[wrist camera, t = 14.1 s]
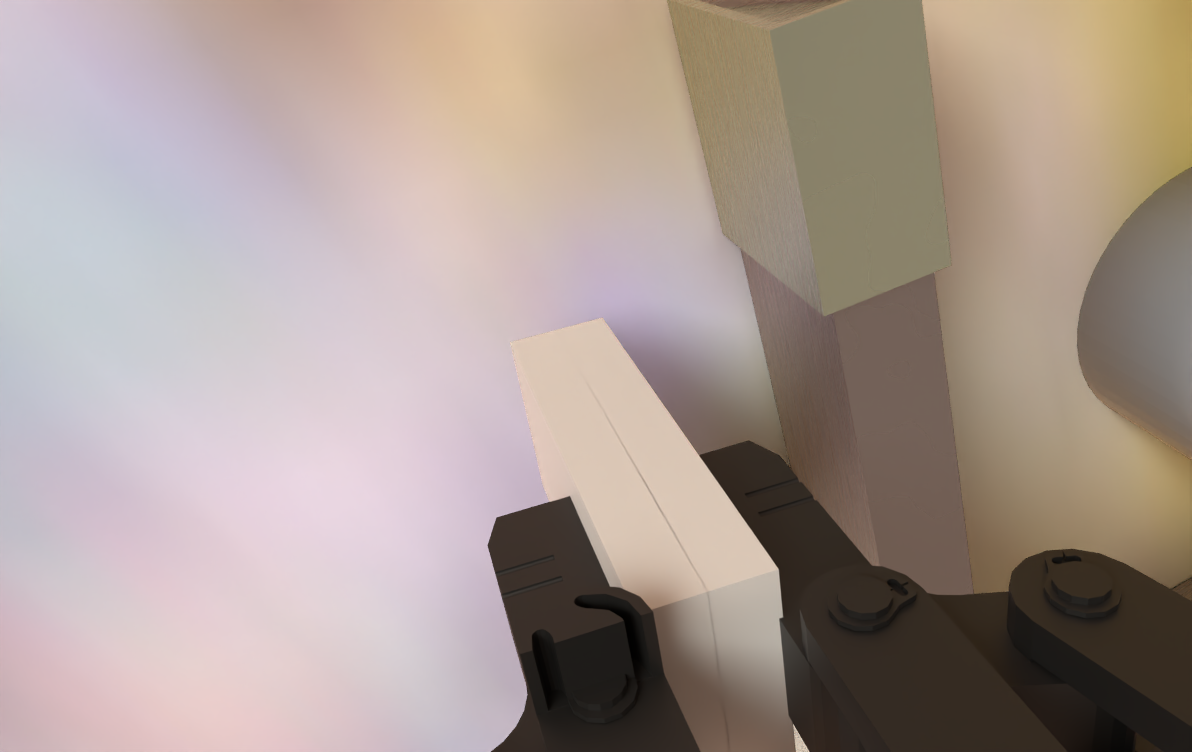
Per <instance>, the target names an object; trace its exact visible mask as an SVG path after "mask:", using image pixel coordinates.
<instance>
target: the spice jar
mask: <svg viewBox="0 0 1192 752" xmlns="http://www.w3.org/2000/svg"><path fill="white" fill-rule="evenodd" d="M1077 348H1078V356H1079V362H1080V366H1081V369H1082V373H1083V376H1084V378H1085V380H1086V382H1087V384H1088V386H1089V388H1090V389H1091V390H1092V392H1093V393H1094V394H1095V396H1096V397H1097V398H1098V399H1099V400H1100V401H1102V402H1103V403H1104V404H1105V405H1106V406H1108V407H1109V408H1111V409H1112V410H1114V411H1115V412H1117V413H1119V414H1120V415H1122V416H1123V417H1125V418H1126V419H1128V420H1129V421H1131V422H1133V423H1134V424H1136V425H1137V426H1139V427H1140V428H1142V429H1143V430H1145V431H1147V432H1148V433H1150V434H1151V435H1153V436H1154V437H1156V438H1158V439H1159V440H1161V441H1162V442H1164V443H1165V444H1167V445H1168V446H1170V447H1172V448H1173V449H1175V450H1176V451H1178V452H1179V453H1181V454H1182V455H1184V456H1186V457H1187V458H1189V459H1190V460H1192V167H1191V168H1189V169H1187V170H1186V171H1184V172H1182V173H1181V174H1179V175H1177V176H1176V177H1174V178H1173V179H1171V180H1170V181H1168V182H1167V183H1166V184H1164V185H1163V186H1162V187H1160V188H1159V189H1158V190H1157V191H1155V192H1154V193H1153V194H1152V195H1151V196H1150V197H1149V198H1148V199H1146V200H1145V201H1144V202H1143V203H1142V204H1141V205H1140V206H1139V207H1138V208H1137V209H1136V210H1135V211H1134V212H1133V214H1132V215H1131V216H1130V217H1129V218H1128V219H1127V220H1126V221H1125V223H1124V224H1123V225H1122V227H1121V228H1120V229H1119V231H1118V232H1117V233H1116V235H1115V236H1114V237H1113V239H1112V240H1111V242H1110V243H1109V245H1108V246H1107V248H1106V250H1105V251H1104V253H1103V255H1102V256H1101V258H1100V260H1099V262H1098V264H1097V266H1096V268H1095V270H1094V272H1093V274H1092V276H1091V279H1090V281H1089V284H1088V287H1087V289H1086V292H1085V295H1084V299H1083V303H1082V306H1081V310H1080V316H1079V323H1078V331H1077Z"/></svg>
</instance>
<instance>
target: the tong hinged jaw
mask: <svg viewBox="0 0 1192 752" xmlns="http://www.w3.org/2000/svg"><path fill="white" fill-rule="evenodd" d="M667 3H668V7H669V11H670V15H671V19H672V23H673V28H674V32H675V36H676V40H677V44H678V49H679V53H680V57H681V61H682V65H683V69H684V74H685V78H686V82H687V86H688V90H689V95H690V99H691V103H692V107H693V111H694V115H695V120H696V124H697V128H698V132H699V136H700V141H701V145H702V149H703V153H704V157H705V161H706V166H707V170H708V174H709V178H710V182H711V187H712V191H713V195H714V199H715V203H716V207H717V212H718V216H719V220H720V224H721V228H722V233H723V234H724V235H725V236H726V237H727V238H729V239H730V240H731V241H732V242H734V243H735V244H736V245H737V246H738V247H740V249H741V253H742V258H743V262H744V266H745V271H746V275H747V279H748V284H749V288H750V292H751V297H752V301H753V305H754V309H755V314H756V318H757V322H758V327H759V331H760V335H761V340H762V344H763V348H764V353H765V357H766V361H767V366H768V370H769V374H770V379H771V383H772V387H773V392H774V396H775V400H776V405H777V409H778V413H779V418H780V422H781V426H782V431H783V435H784V439H785V444H786V448H787V452H788V457H789V461H790V465H791V470H792V471H793V472H794V474H795V475H796V476H797V477H798V480H799V482H802V483H803V484H804V485H805V487H806V488H807V489H808V490H809V491H810V493H811V494H812V495H813V498H814V500H817V501H818V502H819V503H820V504H821V506H822V507H823V508H824V509H825V510H826V512H827V513H828V514H829V515H830V516H831V517H832V519H833V520H834V521H835V522H836V523H837V525H838V526H839V527H840V528H841V529H842V531H843V532H844V533H845V534H846V535H847V536H848V538H849V539H850V540H851V541H852V542H853V544H854V545H855V546H856V547H857V548H858V550H859V551H860V552H861V553H862V554H863V555H864V557H865V558H866V559H867V560H868V561H869V563H870V564H871V565H872V566H883V567H886V568H889V569H891V570H894V571H897V572H900V573H903V574H905V575H907V576H908V577H909V578H911V579H912V580H913V581H915V582H916V583H917V584H918V585H920V586H921V587H922V588H923V589H924V590H925V591H926V592H927V593H930V594H936V595H966V594H974V593H973V584H972V576H971V568H970V560H969V552H968V544H967V536H966V528H965V520H964V512H963V504H962V496H961V487H960V479H959V471H958V463H957V455H956V447H955V439H954V431H953V423H952V415H951V407H950V399H949V390H948V382H947V374H946V366H945V358H944V350H943V342H942V334H941V326H940V318H939V310H938V302H937V293H936V285H935V277H934V272H936V271H939V270H941V269H944V268H946V267H949V266H951V265H952V263H951V255H950V246H949V237H948V228H947V219H946V210H945V201H944V193H943V184H942V175H941V166H940V157H939V148H938V140H937V131H936V122H935V113H934V104H933V95H932V86H931V78H930V69H929V60H928V51H927V42H926V33H925V25H924V16H923V7H922V0H667Z"/></svg>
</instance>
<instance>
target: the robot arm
mask: <svg viewBox="0 0 1192 752" xmlns="http://www.w3.org/2000/svg"><path fill="white" fill-rule="evenodd" d="M510 345H511V349H512V353H513V358H514V362H515V366H516V371H517V375H518V379H519V384H520V388H521V392H522V397H523V401H524V405H525V410H526V414H527V419H528V423H529V427H530V432H531V436H532V440H533V445H534V449H535V453H536V458H537V462H538V466H539V471H540V475H541V479H542V484H543V487H544V489H545V492H546V494H547V497H548V499H549V502H548V503H544V504H541V505H538V506H534V507H531V508H527V509H524V510H521V511H517V512H514V513H510V514H507V515H504V516H500V517H497V518H496V521H495V524H494V527H493V530H492V533H491V537H490V540H489V543H488V549H489V552H490V556H491V559H492V563H493V567H494V570H495V574H496V578H497V581H498V585H499V589H500V592H501V596H502V600H503V603H504V607H505V611H506V614H507V618H508V622H509V625H510V629H511V633H512V636H513V640H514V643H515V647H516V650H517V654H518V657H519V661H520V665H521V668H522V672H523V675H524V679H525V682H526V686H527V694H528V695H527V700H526V705H525V710H524V712H523V714H522V716H521V718H520V720H519V722H518V724H517V726H516V727H515V729H514V730H513V731H512V732H511V733H510V735H509V736H508V737H507V738H506V739H505V741H504V742H502V743H501V744H500V745H499V746H498V747H496V748H495V749H494V750H493V751H491V752H796V750H795V739H794V729H793V724H794V726H795V727H796V729H797V731H798V733H799V734H800V736H801V738H802V739H803V741H804V743H805V744H806V746H807V748H808V749H809V751H810V752H1192V601H1190V600H1189V599H1187V598H1185V597H1183V596H1182V595H1180V594H1178V593H1176V592H1174V591H1173V590H1171V589H1169V588H1167V587H1166V586H1164V585H1162V584H1160V583H1158V582H1157V581H1155V580H1153V579H1151V578H1149V577H1148V576H1146V575H1144V574H1142V573H1141V572H1139V571H1137V570H1135V569H1133V568H1132V567H1130V566H1128V565H1126V564H1124V563H1122V562H1119V561H1117V560H1115V559H1112V558H1110V557H1107V556H1105V555H1102V554H1100V553H1094V552H1088V551H1082V550H1075V549H1065V550H1050V551H1044V552H1042V553H1039V554H1036V555H1034V556H1031V557H1028V558H1026V559H1025V560H1023V561H1022V562H1021V563H1020V564H1019V565H1018V566H1017V567H1016V568H1015V569H1014V570H1013V571H1012V575H1011V580H1010V584H1009V592H997V593H982V594H966V595H936V594H930V593H927V592H926V591H925V590H924V589H923V588H922V587H921V586H920V585H918V584H917V583H916V582H915V581H913V580H912V579H911V578H909V577H908V576H907V575H905V574H903V573H900V572H897V571H894V570H891V569H889V568H886V567H883V566H872V565H871V564H870V563H869V561H868V560H867V559H866V558H865V557H864V555H863V554H862V553H861V552H860V551H859V550H858V548H857V547H856V546H855V545H854V544H853V542H852V541H851V540H850V539H849V538H848V536H847V535H846V534H845V533H844V532H843V531H842V529H841V528H840V527H839V526H838V525H837V523H836V522H835V521H834V520H833V519H832V517H831V516H830V515H829V514H828V513H827V512H826V510H825V509H824V508H823V507H822V506H821V504H820V503H819V502H818V501H817V500H814V498H813V495H812V494H811V493H810V491H809V490H808V489H807V488H806V487H805V485H804V484H803V483H802V482H799V480H798V477H797V476H796V475H795V474H794V472H793V471H792V470H791V469H790V468H789V466H788V465H787V464H786V463H785V462H784V460H783V459H782V458H781V457H780V456H779V455H777V454H775V453H773V452H771V451H769V450H767V449H765V448H763V447H761V446H759V445H757V444H755V443H753V442H751V441H746V442H742V443H739V444H736V445H732V446H729V447H725V448H722V449H719V450H715V451H712V452H708V453H705V454H702V455H698V453H697V452H696V451H695V449H694V448H693V446H692V445H691V443H690V442H689V441H688V439H687V438H686V436H685V435H684V433H683V432H682V431H681V429H680V428H679V426H678V425H677V423H676V422H675V421H674V419H673V418H672V416H671V415H670V413H669V412H668V411H667V409H666V408H665V406H664V405H663V403H662V402H661V401H660V399H659V398H658V396H657V395H656V394H655V392H654V391H653V389H652V388H651V386H650V385H649V384H648V382H647V381H646V379H645V378H644V376H643V375H642V374H641V372H640V371H639V369H638V368H637V366H636V365H635V364H634V362H633V361H632V359H631V358H630V356H629V355H628V354H627V352H626V351H625V349H624V348H623V346H622V345H621V344H620V342H619V341H618V339H617V338H616V336H615V335H614V334H613V332H612V331H611V329H610V328H609V326H608V325H607V324H606V322H605V321H604V319H603V318H599V319H595V320H592V321H588V322H584V323H580V324H577V325H573V326H569V327H565V328H562V329H558V330H554V331H550V332H547V333H543V334H539V335H535V336H532V337H528V338H524V339H520V340H517V341H513V342H510Z"/></svg>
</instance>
